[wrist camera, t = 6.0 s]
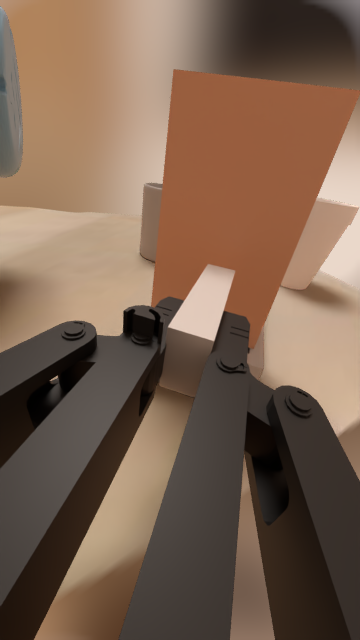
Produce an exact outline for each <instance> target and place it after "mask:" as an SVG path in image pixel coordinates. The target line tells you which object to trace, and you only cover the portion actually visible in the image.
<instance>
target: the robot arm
mask: <svg viewBox="0 0 360 640" xmlns="http://www.w3.org/2000/svg"><path fill="white" fill-rule="evenodd" d="M22 151H23V131H22V109H21V96H20V85H19V75H18V67H17V59H16V52H15V46H14V40H13V35H12V32H11V29H10V26H9V20H8V17H7V15H6V13H5V11H4V10H3V8H2V7H1V6H0V177H10V176H12V175H14V174H15V173H16V172H18V170H19V168H20V166H21V161H22V153H23V152H22ZM234 274H235V270H231V269H227V268H223V267H219V266H215V265H211V264H208V265H207V266H206V268H205V269H204V271H203V273H202V274H201V276H200V277H199V279H198V280H197V282H196V283H195V285H194V287H193V288H192V290H191V291H190V293H189V294H188V296H187V298H186V299H185V301H184V300H180V299H177V298H173V297H170V296H169V297H166V298H164V299H162V300H160V301H159V303H158V304H157V305H156V307H154V308H153V307H150V306H144V305H141V306H133V307H129V308H127V309H126V310H124V317H123V333H122V334H121V335H120V336H103V335H97V333H96V329H95V327H94V326H93V325H92V324H90V323H88V322H85V321H69V322H65V323H62V324H59V325H57V326H55V327H53V328H51V329H49V330H47V331H45V332H43V333H41V334H39V335H37V336H35V337H33V338H31V339H28V340H26V341H24V342H22V343H20V344H18V345H16V346H14V347H12V348H10V349H8V350H6V351H4V352H2V353H0V640H34V638H35V636H36V634H37V632H38V630H39V628H40V626H41V624H42V622H43V620H44V618H45V616H46V614H47V612H48V610H49V608H50V606H51V604H52V602H53V600H54V598H55V596H56V594H57V592H58V590H59V588H60V586H61V584H62V582H63V579H64V577H65V575H66V573H67V571H68V569H69V567H70V565H71V563H72V561H73V559H74V557H75V555H76V553H77V551H78V549H79V547H80V545H81V543H82V541H83V539H84V537H85V535H86V533H87V531H88V529H89V527H90V525H91V523H92V521H93V519H94V517H95V515H96V513H97V511H98V509H99V507H100V505H101V503H102V501H103V499H104V497H105V495H106V493H107V491H108V489H109V487H110V485H111V483H112V480H113V478H114V476H115V474H116V472H117V470H118V468H119V466H120V464H121V462H122V460H123V458H124V456H125V454H126V452H127V450H128V448H129V446H130V444H131V442H132V440H133V438H134V436H135V434H136V432H137V430H138V428H139V426H140V424H141V422H142V420H143V418H144V416H145V414H146V412H147V410H148V408H149V406H150V404H151V402H152V400H153V398H154V394H155V387H156V385H157V383H158V381H159V379H160V383H159V386H161V387H164V388H167V389H170V390H173V391H175V392H178V393H181V394H184V395H187V396H190V397H193V398H195V399H194V402H193V405H192V409H191V412H190V415H189V418H188V421H187V424H186V428H185V431H184V434H183V437H182V440H181V443H180V447H179V450H178V453H177V456H176V459H175V462H174V466H173V469H172V472H171V475H170V478H169V481H168V485H167V488H166V491H165V494H164V497H163V500H162V504H161V507H160V510H159V513H158V516H157V519H156V523H155V526H154V529H153V532H152V535H151V538H150V542H149V545H148V548H147V551H146V554H145V557H144V561H143V564H142V567H141V570H140V573H139V576H138V580H137V583H136V586H135V589H134V592H133V595H132V599H131V602H130V605H129V608H128V611H127V614H126V618H125V621H124V624H123V627H122V630H121V633H120V636H119V640H230V629H231V616H232V602H233V589H234V576H235V563H236V562H235V561H236V549H237V536H238V522H239V510H240V497H241V484H242V471H243V458H244V454H245V460H246V466H247V472H248V478H249V484H250V490H251V496H252V502H253V508H254V514H255V521H256V527H257V532H258V539H259V544H260V550H261V557H262V563H263V569H264V575H265V581H266V587H267V593H268V599H269V605H270V611H271V617H272V623H273V630H274V636H275V640H360V481H359V479H358V477H357V475H356V473H355V471H354V469H353V467H352V466H351V463H350V462H349V460H348V458H347V456H346V454H345V452H344V450H343V448H342V446H341V444H340V442H339V440H338V438H337V436H336V434H335V432H334V430H333V428H332V426H331V425H330V423H329V421H328V419H327V417H326V415H325V413H324V411H323V409H322V407H321V406H320V405H319V403H318V402H317V400H315V399H314V398H313V397H312V396H311V395H310V394H308V393H307V392H305V391H303V390H301V389H300V388H296V387H293V386H280V387H278V388H276V390H273V389H271V388H269V387H268V386H266V385H264V384H263V383H261V382H260V381H258V380H257V379H256V378H255V377H254V376H253V375H252V374H251V372H250V369H249V365H248V364H247V355H248V344H249V332H250V323H249V321H248V319H247V318H246V317H245V316H241V315H237V314H234V313H230V312H227V311H224V308H225V305H226V301H227V298H228V295H229V291H230V288H231V284H232V281H233V277H234ZM57 375H58V378H57V379H55V380H52V381H50V380H51V379H53V378H54V377H56V376H57Z"/></svg>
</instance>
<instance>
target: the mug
mask: <svg viewBox="0 0 360 640" xmlns="http://www.w3.org/2000/svg"><path fill="white" fill-rule="evenodd" d="M162 187H163V184H158V183H145V184H144V193H143V209H142V227H141V241H140V254H141V255H142V256H143V257H144V258H146V259H148V260H150V261H153V262H155V260H156V250H157V239H158V229H159V218H160V208H161V197H162Z"/></svg>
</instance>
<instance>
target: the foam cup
mask: <svg viewBox="0 0 360 640" xmlns="http://www.w3.org/2000/svg"><path fill="white" fill-rule="evenodd" d="M358 209H359V207H358V206H355V205H351V204H346V203H342V202H337V201H332V200H327V199H322V198H316V201H315V203H314V206H313V208H312V210H311V213H310V215H309V218H308V220H307V222H306V225H305V227H304V230H303V232H302V234H301V237H300V239H299V242H298V244H297V246H296V249H295V251H294V254H293V256H292V258H291V261H290V263H289V266H288V268H287V270H286V273H285V275H284V278H283V280H282V282H281V286H284V287H287V288H290V289H297V290H303V289H306V288H307V286H308V285H309V284H310V282H311V281H312V279H313V278H314V276H315V275H316V273H317V272H318V270H319V269H320V267H321V266H322V264H323V263H324V261H325V260H326V258H327V257H328V255H329V254H330V252H331V251H332V249H333V248H334V246H335V244H336V243H337V242H338V240H339V238H340V237H341V236H342V234H343V233H344V231H345V229H346V228H347V227H348V225H350V224H351V223H352V221H353V219H354V217H355V215H356V213H357V211H358Z"/></svg>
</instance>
